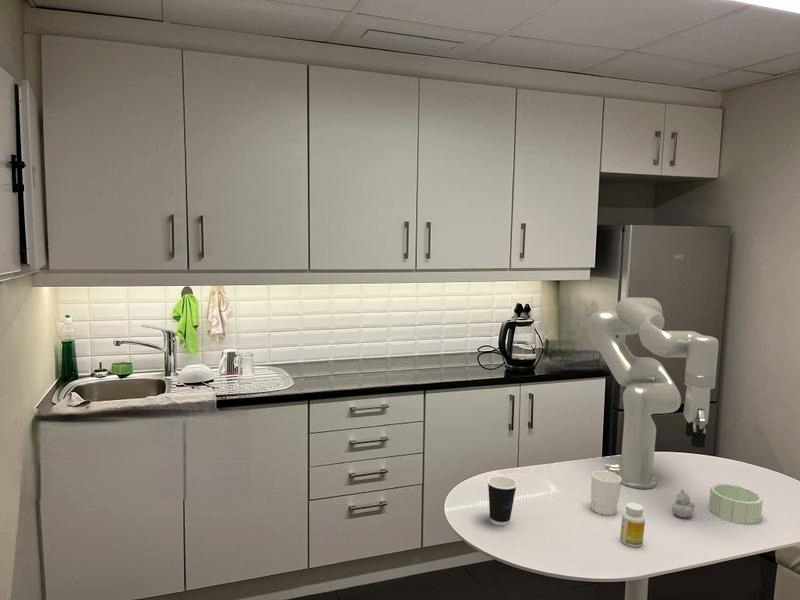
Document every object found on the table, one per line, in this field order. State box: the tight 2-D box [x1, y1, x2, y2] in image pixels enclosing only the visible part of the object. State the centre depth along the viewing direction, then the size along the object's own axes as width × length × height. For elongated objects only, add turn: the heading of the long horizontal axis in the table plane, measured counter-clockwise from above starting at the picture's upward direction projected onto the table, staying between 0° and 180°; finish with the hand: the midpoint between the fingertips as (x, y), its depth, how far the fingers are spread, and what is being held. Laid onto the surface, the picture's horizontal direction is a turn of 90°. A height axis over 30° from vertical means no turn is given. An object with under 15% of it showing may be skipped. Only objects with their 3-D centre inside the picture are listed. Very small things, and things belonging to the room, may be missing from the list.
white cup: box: [590, 470, 622, 516], centre depth 168 cm, size 8×8×10 cm
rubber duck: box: [671, 489, 696, 518], centre depth 167 cm, size 5×7×8 cm
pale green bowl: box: [708, 483, 764, 525], centre depth 170 cm, size 13×13×6 cm
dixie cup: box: [486, 475, 518, 526], centre depth 159 cm, size 8×8×11 cm
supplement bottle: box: [619, 502, 646, 548], centre depth 151 cm, size 5×5×10 cm
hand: (694, 441), depth 165 cm, fingers open, 9 cm apart
